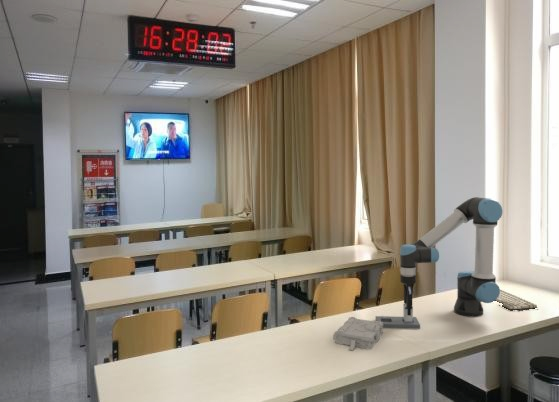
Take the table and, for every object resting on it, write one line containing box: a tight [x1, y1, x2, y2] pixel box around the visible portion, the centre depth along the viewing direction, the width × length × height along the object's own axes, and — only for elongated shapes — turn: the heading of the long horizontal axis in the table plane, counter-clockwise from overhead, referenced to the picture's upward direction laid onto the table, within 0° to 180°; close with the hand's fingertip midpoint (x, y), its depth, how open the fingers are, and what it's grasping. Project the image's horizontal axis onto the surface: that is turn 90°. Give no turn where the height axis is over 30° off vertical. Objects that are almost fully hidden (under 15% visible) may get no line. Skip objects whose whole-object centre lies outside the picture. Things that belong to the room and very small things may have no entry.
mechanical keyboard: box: [495, 289, 538, 312], centre depth 270 cm, size 38×19×3 cm, turn 8°
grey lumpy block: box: [332, 316, 384, 351], centre depth 214 cm, size 19×28×8 cm
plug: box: [402, 303, 414, 322], centre depth 232 cm, size 4×4×11 cm
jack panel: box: [375, 315, 421, 330], centre depth 233 cm, size 21×12×2 cm, turn 83°
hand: (408, 319), depth 232 cm, fingers closed on plug, 4 cm apart
